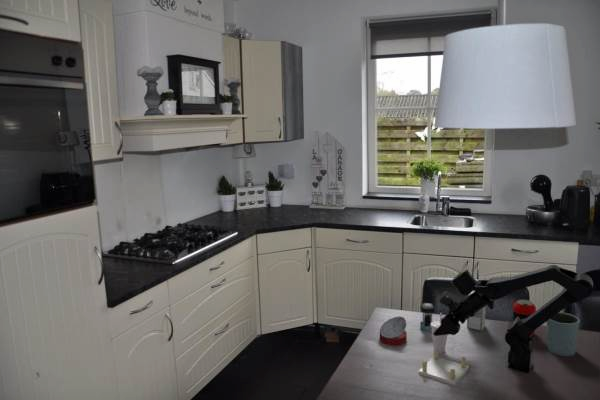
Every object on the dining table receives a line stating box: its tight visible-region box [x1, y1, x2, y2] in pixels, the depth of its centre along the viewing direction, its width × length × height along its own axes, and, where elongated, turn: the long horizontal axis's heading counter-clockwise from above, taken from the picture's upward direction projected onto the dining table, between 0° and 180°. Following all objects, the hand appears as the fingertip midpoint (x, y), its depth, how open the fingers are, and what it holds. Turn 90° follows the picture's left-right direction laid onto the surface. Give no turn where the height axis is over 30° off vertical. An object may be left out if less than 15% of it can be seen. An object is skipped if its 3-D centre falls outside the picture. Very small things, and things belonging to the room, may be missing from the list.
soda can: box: [512, 299, 537, 338], centre depth 187 cm, size 8×8×12 cm
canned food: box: [379, 316, 408, 347], centre depth 185 cm, size 11×10×10 cm
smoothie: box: [431, 312, 448, 353], centre depth 175 cm, size 6×6×14 cm
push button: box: [419, 302, 436, 331], centre depth 192 cm, size 7×5×10 cm
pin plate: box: [418, 349, 470, 386], centre depth 162 cm, size 12×12×4 cm
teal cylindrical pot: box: [546, 311, 580, 357], centre depth 173 cm, size 10×10×12 cm
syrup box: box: [466, 290, 487, 332], centre depth 193 cm, size 6×6×14 cm
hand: (437, 329), depth 175 cm, fingers open, 9 cm apart
